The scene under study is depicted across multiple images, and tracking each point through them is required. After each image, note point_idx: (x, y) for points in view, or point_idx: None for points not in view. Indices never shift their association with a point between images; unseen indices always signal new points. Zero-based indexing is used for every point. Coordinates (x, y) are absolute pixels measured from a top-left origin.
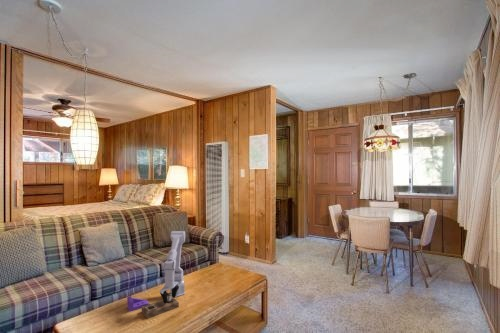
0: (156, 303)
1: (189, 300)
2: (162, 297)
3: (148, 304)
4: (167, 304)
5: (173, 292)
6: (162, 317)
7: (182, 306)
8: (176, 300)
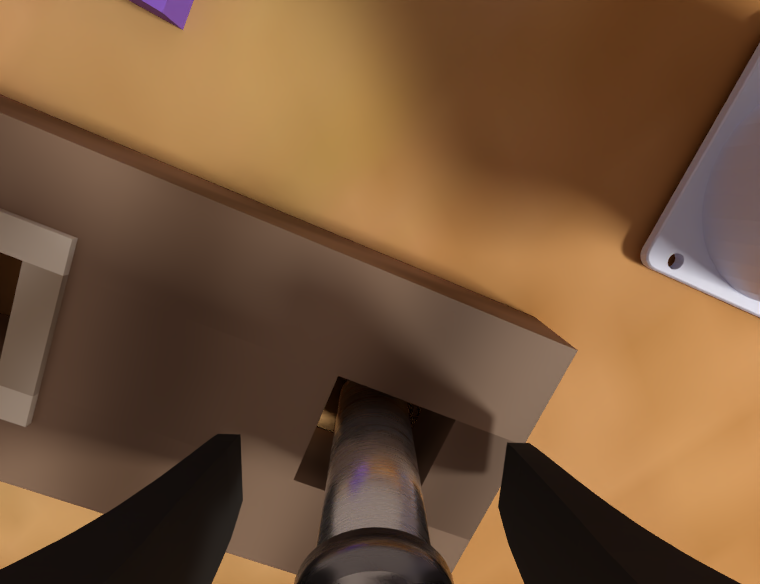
0: (150, 258)
1: None
2: (105, 527)
3: (140, 1)
4: (255, 497)
5: (566, 580)
6: (69, 526)
7: (456, 573)
8: (468, 540)
